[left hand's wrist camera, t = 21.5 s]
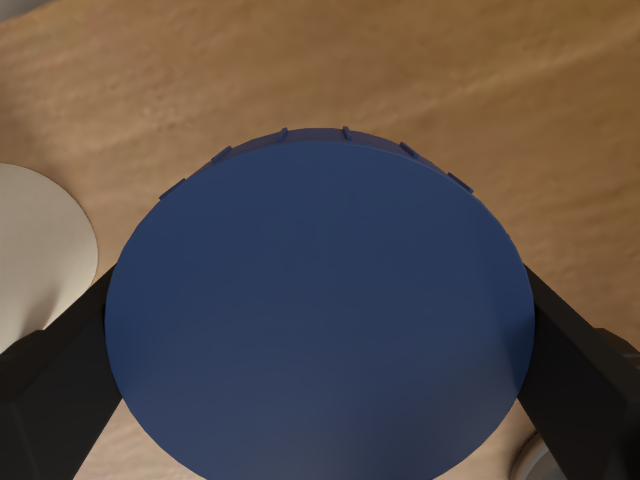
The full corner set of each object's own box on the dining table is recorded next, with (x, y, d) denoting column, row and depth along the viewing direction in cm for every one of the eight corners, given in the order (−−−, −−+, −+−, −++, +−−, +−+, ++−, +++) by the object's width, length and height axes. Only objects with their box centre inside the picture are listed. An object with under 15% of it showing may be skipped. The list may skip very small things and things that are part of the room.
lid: (62, 265, 12) (5, 307, 10) (381, 35, 10) (399, 24, 8) (279, 487, 15) (272, 555, 13) (557, 347, 13) (605, 402, 11)
